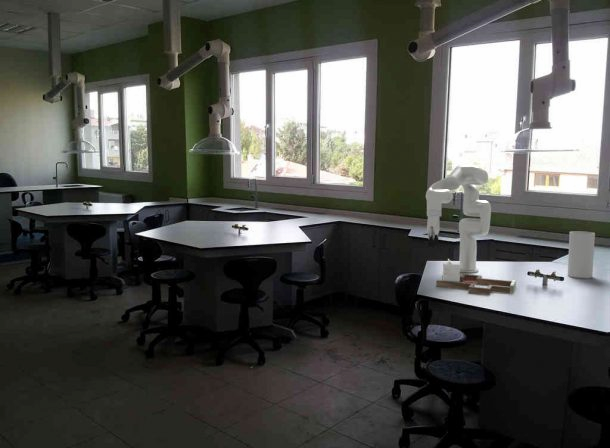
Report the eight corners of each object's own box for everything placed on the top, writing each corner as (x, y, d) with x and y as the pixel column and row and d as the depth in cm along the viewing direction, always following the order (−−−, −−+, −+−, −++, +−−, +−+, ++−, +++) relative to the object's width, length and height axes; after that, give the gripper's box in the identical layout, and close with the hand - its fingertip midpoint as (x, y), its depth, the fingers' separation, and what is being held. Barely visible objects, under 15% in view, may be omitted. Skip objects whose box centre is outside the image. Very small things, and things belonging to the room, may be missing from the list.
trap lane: (445, 277, 295) (445, 270, 295) (516, 284, 279) (517, 276, 279) (433, 289, 268) (433, 281, 267) (511, 297, 251) (512, 288, 251)
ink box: (459, 286, 274) (460, 261, 273) (443, 285, 276) (443, 260, 274) (458, 283, 282) (459, 258, 281) (442, 282, 284) (442, 257, 283)
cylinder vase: (591, 275, 300) (593, 232, 298) (593, 279, 289) (595, 234, 286) (567, 273, 306) (569, 230, 303) (567, 277, 294) (570, 233, 292)
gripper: (430, 211, 288) (429, 242, 290) (423, 214, 273) (422, 247, 275) (444, 212, 285) (443, 243, 287) (437, 214, 270) (437, 248, 272)
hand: (433, 245), depth 281 cm, fingers open, 9 cm apart
